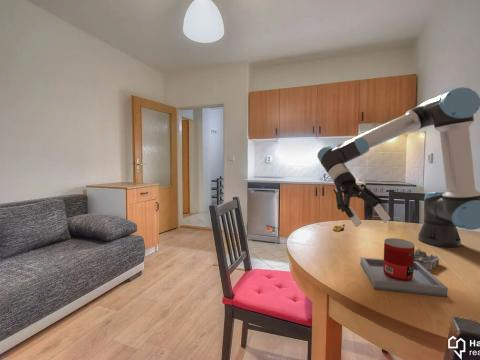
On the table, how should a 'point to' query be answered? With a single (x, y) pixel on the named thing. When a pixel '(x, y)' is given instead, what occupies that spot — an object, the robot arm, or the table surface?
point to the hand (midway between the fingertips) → (373, 222)
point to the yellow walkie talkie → (338, 228)
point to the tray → (419, 284)
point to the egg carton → (426, 259)
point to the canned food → (398, 259)
